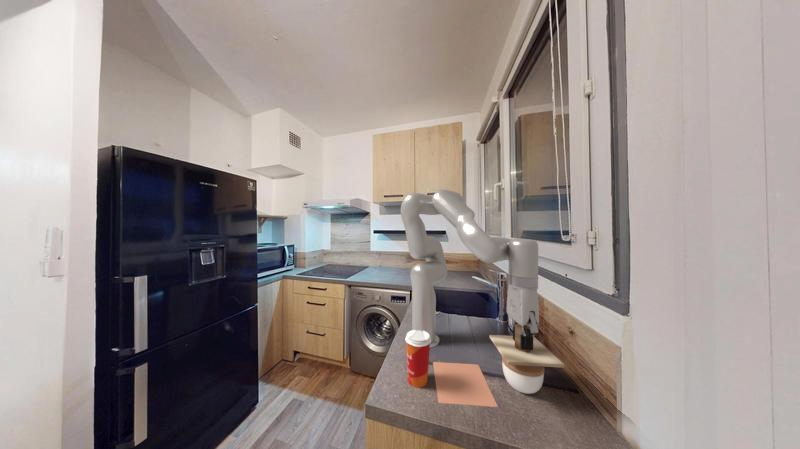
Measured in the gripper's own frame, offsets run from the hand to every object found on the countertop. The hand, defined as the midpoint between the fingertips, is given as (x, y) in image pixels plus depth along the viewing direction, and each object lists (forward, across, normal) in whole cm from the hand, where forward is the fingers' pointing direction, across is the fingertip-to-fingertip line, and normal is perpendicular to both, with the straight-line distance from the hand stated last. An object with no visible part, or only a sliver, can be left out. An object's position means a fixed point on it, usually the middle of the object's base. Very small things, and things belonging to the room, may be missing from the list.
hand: (522, 344), depth 63 cm
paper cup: (+13, +1, -30) cm, 33 cm away
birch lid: (+2, 0, 0) cm, 2 cm away
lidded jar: (+13, 0, 0) cm, 13 cm away
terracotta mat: (+12, 0, -18) cm, 21 cm away
